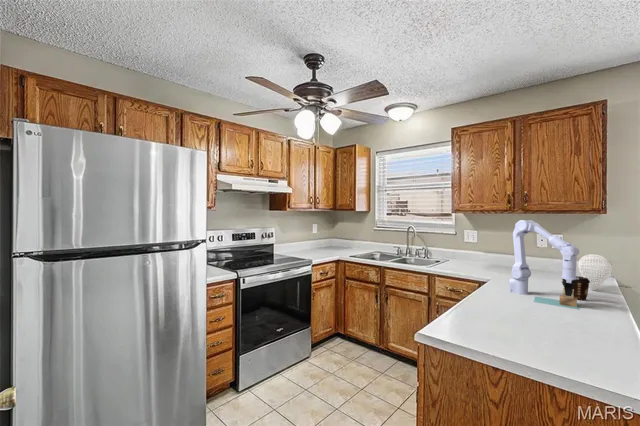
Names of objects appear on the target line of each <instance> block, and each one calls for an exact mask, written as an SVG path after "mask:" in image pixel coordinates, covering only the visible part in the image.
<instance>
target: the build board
mask: <svg viewBox="0 0 640 426" xmlns="http://www.w3.org/2000/svg"><path fill="white" fill-rule="evenodd" d="M533 303H537V304H543V305H550V306H555V307H561V308H562V307H563V308H568V309H573V310H580V302H579V303H578V302H577V307H571V306H565V305H559V303H560V299H553V298H547V297H543V296H534V299H533Z"/></svg>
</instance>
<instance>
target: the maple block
mask: <svg viewBox="0 0 640 426" xmlns="http://www.w3.org/2000/svg"><path fill="white" fill-rule="evenodd" d="M573 297H574V289H573V291H572V295H571V296H566V295H565V289H564V287H562V298H567V299H573Z"/></svg>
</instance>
